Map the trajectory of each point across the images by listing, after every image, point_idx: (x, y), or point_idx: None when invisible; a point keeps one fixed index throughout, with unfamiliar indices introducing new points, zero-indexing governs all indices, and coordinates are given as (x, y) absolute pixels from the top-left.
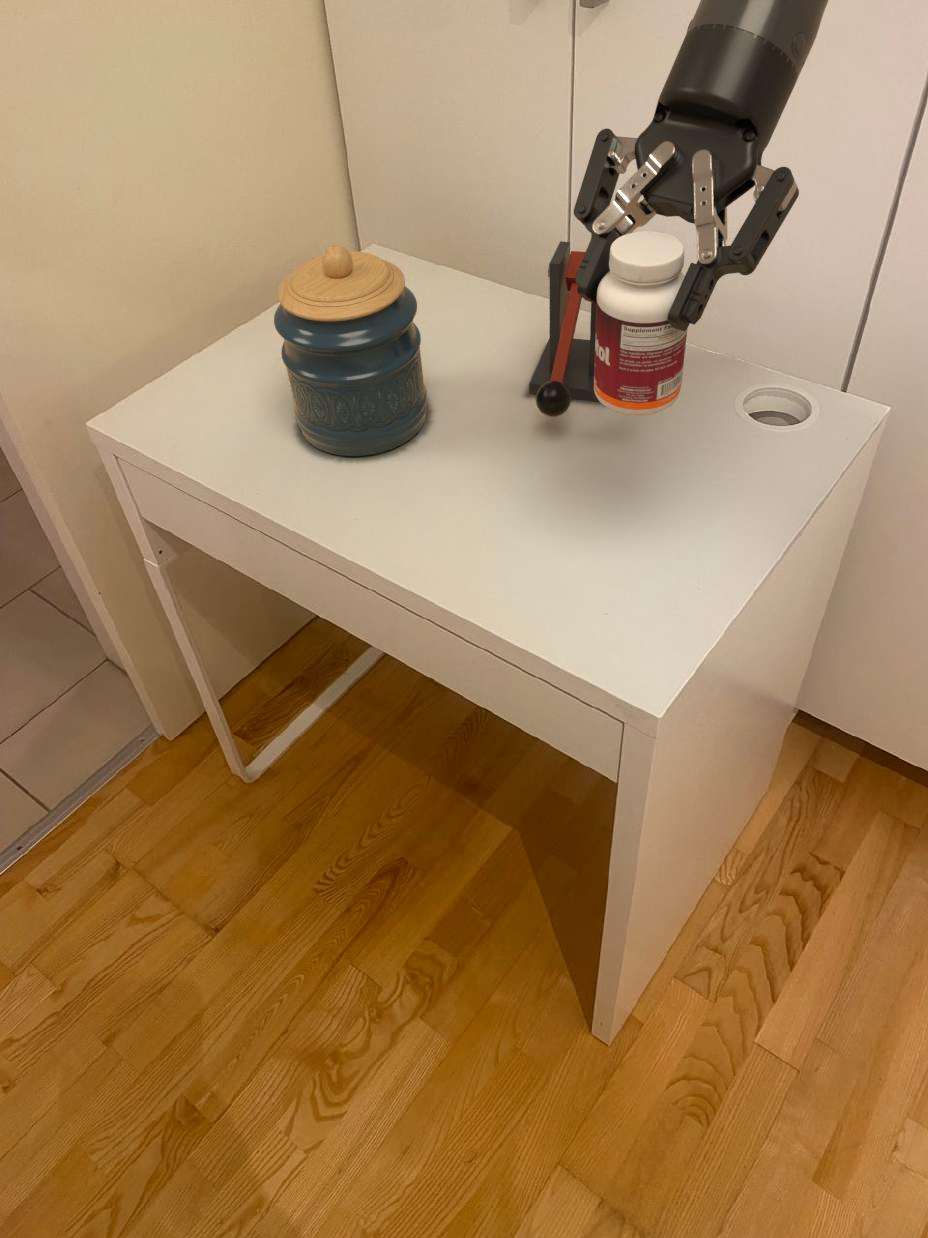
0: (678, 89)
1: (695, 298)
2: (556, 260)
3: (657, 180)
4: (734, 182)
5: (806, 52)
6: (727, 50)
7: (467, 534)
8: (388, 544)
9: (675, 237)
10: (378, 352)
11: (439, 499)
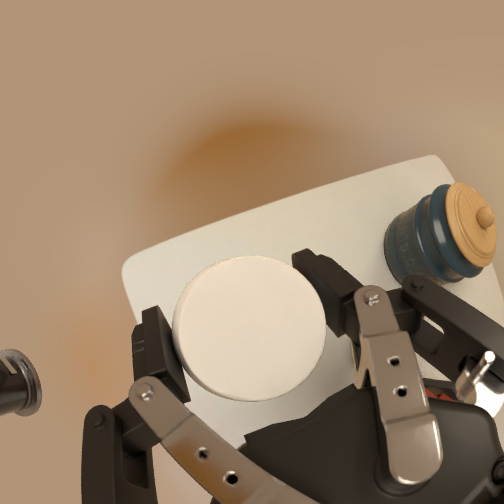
0: None
1: (139, 346)
2: (455, 388)
3: (375, 420)
4: None
5: None
6: None
7: (295, 251)
8: (310, 209)
9: (254, 399)
10: (427, 231)
11: (332, 253)
